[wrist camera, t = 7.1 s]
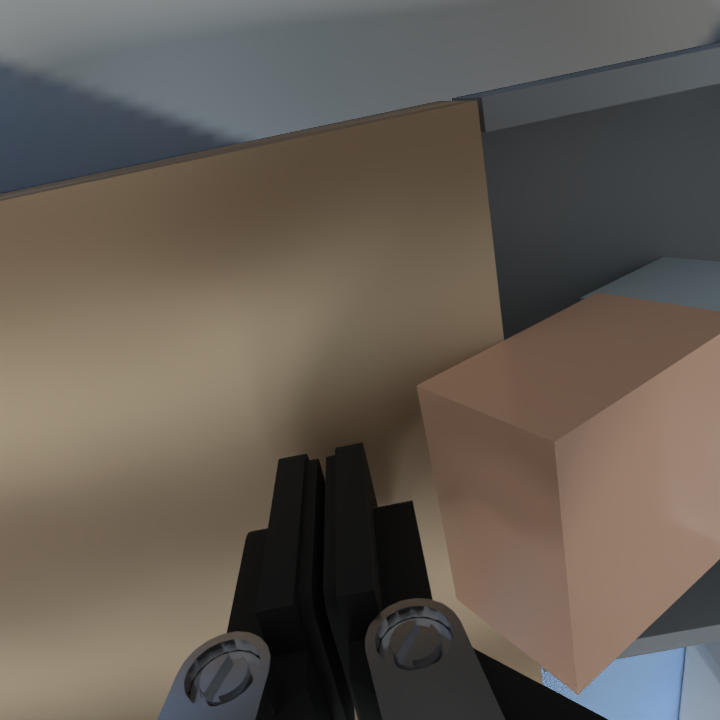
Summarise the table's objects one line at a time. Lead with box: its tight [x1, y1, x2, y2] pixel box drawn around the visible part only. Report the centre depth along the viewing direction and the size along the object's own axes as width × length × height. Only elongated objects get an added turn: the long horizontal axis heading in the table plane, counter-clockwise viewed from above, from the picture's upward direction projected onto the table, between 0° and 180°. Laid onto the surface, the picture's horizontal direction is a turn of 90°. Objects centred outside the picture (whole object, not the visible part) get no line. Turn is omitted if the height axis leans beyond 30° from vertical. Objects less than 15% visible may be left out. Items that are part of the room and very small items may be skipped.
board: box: [0, 100, 543, 720], centre depth 15 cm, size 14×14×4 cm
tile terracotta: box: [417, 292, 720, 695], centre depth 12 cm, size 5×5×3 cm
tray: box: [452, 42, 720, 672], centre depth 15 cm, size 14×10×3 cm
